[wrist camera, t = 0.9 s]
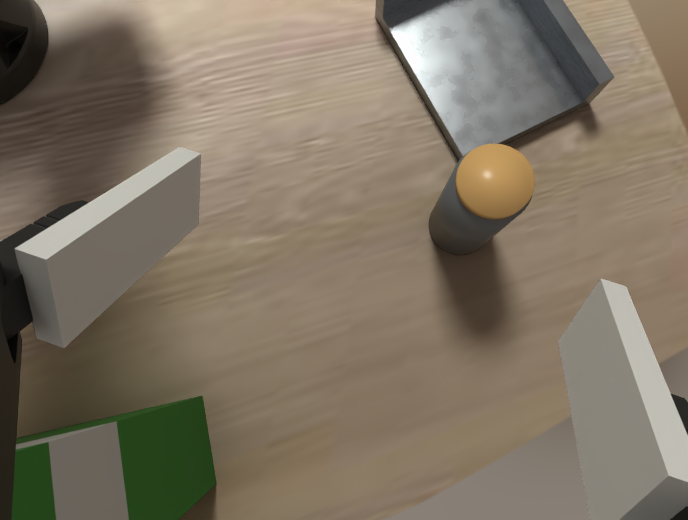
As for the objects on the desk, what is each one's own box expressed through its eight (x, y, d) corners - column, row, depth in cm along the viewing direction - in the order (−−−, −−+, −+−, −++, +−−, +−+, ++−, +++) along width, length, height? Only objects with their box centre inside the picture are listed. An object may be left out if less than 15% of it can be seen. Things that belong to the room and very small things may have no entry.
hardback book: (13, 530, 40) (-482, 790, 16) (5, 440, 41) (-460, 561, 18) (216, 483, 40) (14, 674, 17) (202, 395, 42) (-3, 457, 18)
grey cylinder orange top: (418, 212, 44) (439, 162, 32) (470, 186, 44) (511, 127, 33) (446, 265, 43) (479, 233, 31) (500, 238, 43) (553, 197, 32)
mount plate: (375, 16, 48) (376, -18, 44) (496, -40, 49) (509, -79, 44) (461, 165, 45) (472, 145, 40) (589, 103, 46) (614, 77, 41)
